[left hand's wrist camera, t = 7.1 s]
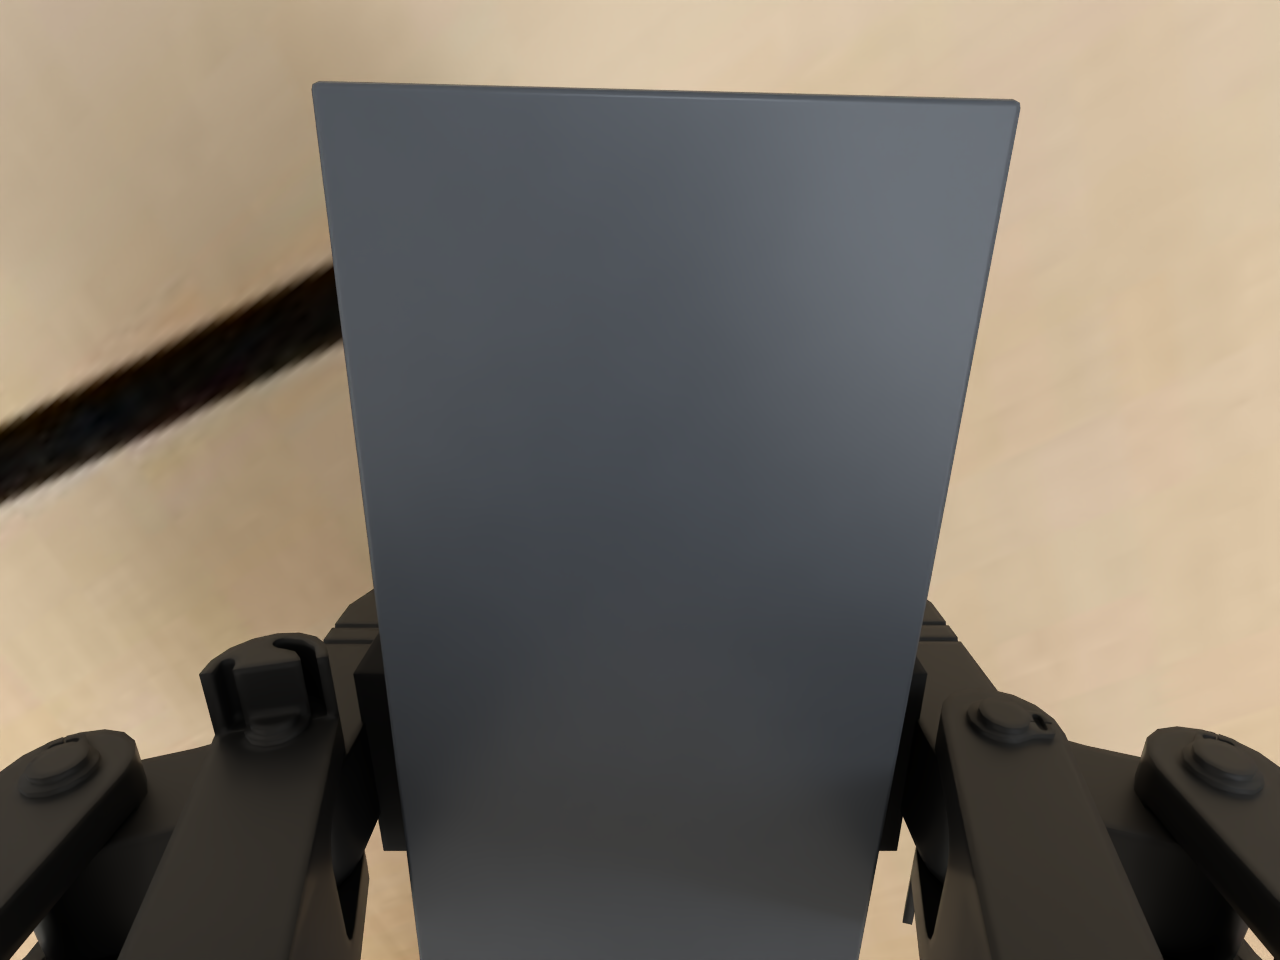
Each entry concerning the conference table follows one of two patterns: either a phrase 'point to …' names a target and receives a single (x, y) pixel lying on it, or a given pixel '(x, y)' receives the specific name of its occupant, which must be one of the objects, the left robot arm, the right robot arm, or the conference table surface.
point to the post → (653, 490)
